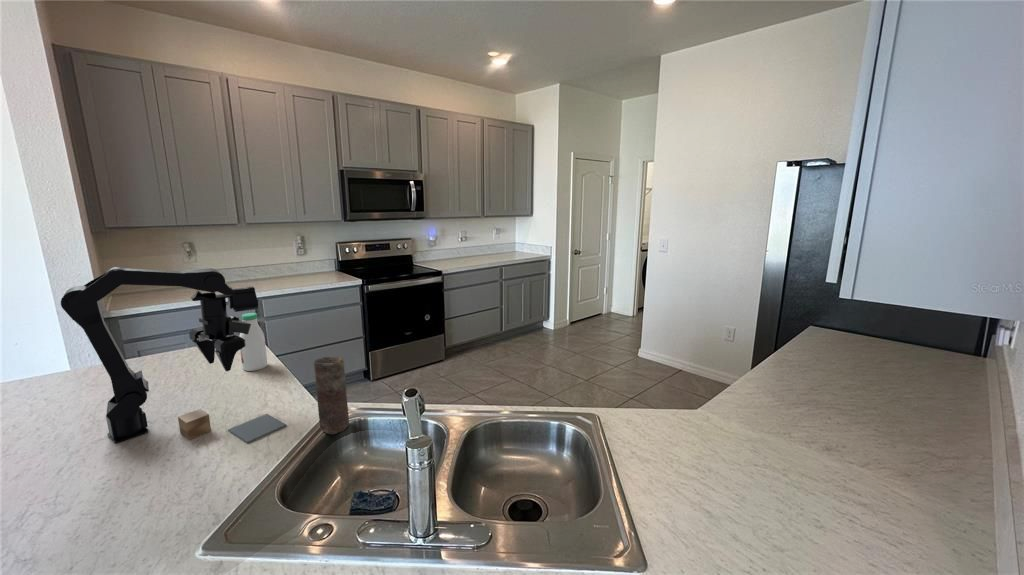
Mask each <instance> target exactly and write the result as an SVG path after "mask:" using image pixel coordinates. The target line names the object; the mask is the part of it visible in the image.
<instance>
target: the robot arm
mask: <svg viewBox="0 0 1024 575" xmlns="http://www.w3.org/2000/svg"><path fill="white" fill-rule="evenodd" d="M122 285H123V286H124V285H125V286H154V287H155V286H159V287H160V286H161V287H182V288H187V289H191V290H195V291H196V292H195V293H194V294H192V295H191V296H190V299H191V301H192V302H197V301H198V302H200V310H201V317H199V318H198V322H199V323H202V327H201V326H200V327H197V328H192V329H191V330H190V331H189V332H188V333H189V335H188V337H189V340H191V341H192V343H193V344H194V345H195V346H196V347H197V349H198V350H199V352H200V353H201V354H202V356H203V357H204V359H206V361H207V362H208V364H210V365H211V364H214V363H215V358H216V357H215V354H216V356H217V358H218V359H219V362H220V364H221V365H222V368H223V369H224V371H225V372H229V371H231V369H232V365H233V362H234V360H235V356H236V354H237V353H238V351H240V349H242V348H243V347H245V346H246V344H245V339H243V338H241V337H240V335H239V336H238V335H236V334H235V333H238V334H240V333H244V334H248V333H249V330H250V326H251V324H250V323H247V322H244V321H242V320H240V317H238V316H234V315H230V316H229V315H228V310H232V311H233V312H234V313H236V312H237V313H238V312H246V311H254V310H255V311H256V310H258V309H259V300H258V298H257V293H256V288H255V287H254V286H246V287H238V288H233V287H232V286H231V285H230V284H227V283H226V278H225V276H224V275H223V274H222V273H221V272H220V271H219V270H217V269H216V268H211V267H210V268H206V267H205V268H195V269H189V270H181V271H180V270H166V269H165V270H164V269H162V270H161V269H145V268H127V267H126V268H124V267H122V266H121V267H120V266H113V267H111V268H109V269H108V270H107V271H106V272H104V273H103V274H101V275H99V276H97V277H95V278H93V279H92V280H90V281H88V282H87V283H85V284H84V285H76V286H75V285H74V286H73V287H70V288H68V289H67V290H66V291H65V293H64V294H63V296H62V298H61V299H60V306H61V308H62V309H63V311H65V313H66V314H67V315H68V316H69V318H70V319H72V321H74V322H75V323H76V324H77V325H78V326H79V327H80V328H82V329H83V331H84V333H85V335H86V336H87V338H88V340H89V342H90V344H91V345H92V347H93V349H94V350H95V353H96V355H97V356H98V358H99V360H100V361H101V364H102V365H103V367H104V368H105V370H106V372H107V374H108V376H109V378H110V381H111V385H112V391H113V396H112V397H111V398H110V399H109V400H108V401H107V406H106V414H105V419H106V424H107V429H108V432H107V435H106V436H107V437H108V438H110V440H111V441H112V442H113V443H115V444H118V443H121V442H124V441H126V440H129V439H132V438H135V437H139V436H140V435H143V434H145V433H146V434H147V433H148V432H149V429H148V426H149V425H148V420H147V414H146V412H145V411H144V410H143V408H142V407H141V406H143V405H144V404H145V403H146V401H147V399H148V392H150V387H149V381H147V380H146V379H145V378H144V374H143V371H142V370H141V369H140V370H139V371H136V372H135V371H134V370H133V369H131V368H130V367H129V364H128V362H127V361H126V358H125V357H124V355H123V353H122V352H121V348H119V345H118V344H117V342H116V340H115V338H114V336H113V334H112V333H111V331H110V329H109V327H108V325H107V324H106V321H105V320H104V315H103V314H104V313H103V311H102V305H101V300H102V299H103V298H105V297H106V296H108V295H109V294H111V293H112V292H113V291H114V290H116V289H117V288H119V287H120V286H122ZM201 291H202V292H201ZM216 292H217V293H220V294H216ZM226 299H227V300H226ZM227 306H228V309H227Z"/></svg>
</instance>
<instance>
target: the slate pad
mask: <svg viewBox="0 0 1024 575" xmlns="http://www.w3.org/2000/svg"><path fill="white" fill-rule="evenodd" d="M286 427H287V424H286V423H284V422H283V421H281V420H280V419H277V418H275V417H274V416H272V415H270V414H268V413H264V414H262V415H260V416H257V417H254V418H252V419H250V420H248V421H245V422H243V423H241V424H237V425H235V426H233V427H231V428H228V429H227V432H229V433H230V434H232V435H234V436H235V437H236V438H238V439H240V440H241V441H243V442H244V443H245V444H247V445H248V444H250V443H252V442H255V441H256V440H259V439H261V438H263V437H266V436H268V435H270V434H272V433H274V432H277V431H279V430H281V429H284V428H286Z"/></svg>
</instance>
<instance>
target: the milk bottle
mask: <svg viewBox="0 0 1024 575" xmlns="http://www.w3.org/2000/svg"><path fill="white" fill-rule="evenodd" d="M241 319H242V320H241V321H244V322H247V323H250V324H251V326H250V330H249V333H248V334H244V333H239V337H241V338H243V339H245V344H246V346H245V347H243V348H242V349H240V350H239V351H240V352H239V353H240V359H241V367H242V370H244V371H246V372H254V371H260V370H263V369H265V368H267V366H268V357H267V347H266V346H267V345H266V341H265V340H266V339H265V333H264V331H263V329H262V327H261V326H260V325H259V323H258V313H257V312H248V313H242V315H241Z"/></svg>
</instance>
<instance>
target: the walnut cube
mask: <svg viewBox="0 0 1024 575" xmlns="http://www.w3.org/2000/svg"><path fill="white" fill-rule="evenodd" d="M210 419H211V418H210V414H209V413H207V412H206V411H204V410H203V409H201V408H199V409H196V410H193V411H190V412H188V413H184V414H182V415H179V416H177V420H178V427H179V434H180V435H181V436H183V437H184V438H185V439H186V440H187V441H190V440H193V439H196V438H197V437H200V435H201V436H203V435H206V434H208V433H210V431H211V432H212V427H211V420H210ZM195 437H196V438H195Z"/></svg>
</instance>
